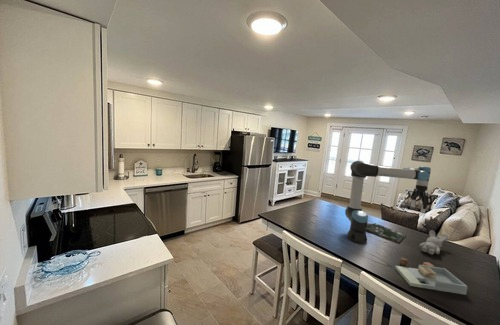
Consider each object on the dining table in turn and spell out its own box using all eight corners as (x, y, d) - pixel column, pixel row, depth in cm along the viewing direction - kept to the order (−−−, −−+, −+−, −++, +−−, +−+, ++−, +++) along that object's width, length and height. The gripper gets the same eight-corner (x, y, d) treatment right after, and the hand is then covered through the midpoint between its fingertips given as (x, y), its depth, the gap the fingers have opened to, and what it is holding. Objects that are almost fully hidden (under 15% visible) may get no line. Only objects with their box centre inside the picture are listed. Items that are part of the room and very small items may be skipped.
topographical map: (398, 244, 166) (399, 240, 166) (357, 228, 191) (357, 225, 190) (406, 235, 183) (407, 232, 183) (367, 222, 208) (368, 219, 207)
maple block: (424, 276, 122) (425, 272, 121) (418, 270, 128) (418, 266, 127) (435, 278, 121) (436, 274, 120) (428, 272, 127) (429, 267, 126)
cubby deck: (410, 285, 116) (411, 277, 115) (395, 268, 132) (396, 261, 131) (465, 294, 112) (467, 286, 111) (443, 275, 127) (444, 268, 127)
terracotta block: (428, 271, 130) (429, 266, 130) (422, 268, 134) (423, 262, 134) (433, 271, 131) (434, 265, 131) (427, 267, 135) (428, 262, 135)
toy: (437, 261, 147) (447, 246, 164) (439, 249, 146) (449, 235, 163) (416, 253, 157) (428, 239, 174) (418, 242, 155) (430, 229, 172)
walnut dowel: (401, 267, 133) (402, 260, 132) (398, 264, 137) (399, 257, 136) (408, 268, 132) (409, 261, 132) (404, 265, 136) (406, 258, 136)
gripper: (438, 189, 154) (433, 215, 156) (417, 182, 178) (413, 205, 181) (427, 188, 155) (422, 214, 157) (407, 181, 179) (404, 204, 182)
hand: (417, 209), depth 169 cm, fingers open, 13 cm apart
